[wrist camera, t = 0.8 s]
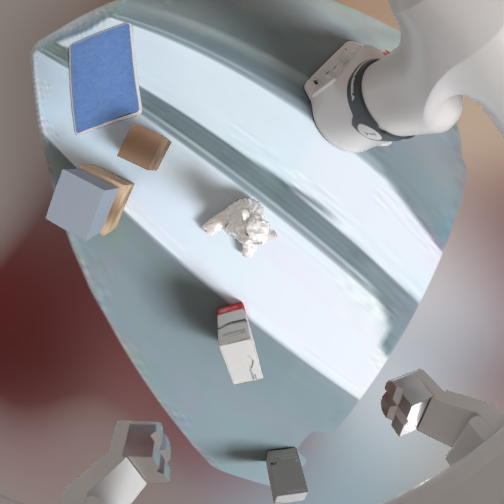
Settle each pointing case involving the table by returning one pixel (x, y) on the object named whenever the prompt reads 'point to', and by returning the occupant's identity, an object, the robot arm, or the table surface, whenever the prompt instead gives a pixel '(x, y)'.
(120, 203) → the oak block
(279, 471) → the skincare box
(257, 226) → the seated beast figurine
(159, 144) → the walnut block
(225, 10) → the table surface
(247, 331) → the ink box
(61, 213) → the slate block
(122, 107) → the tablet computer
